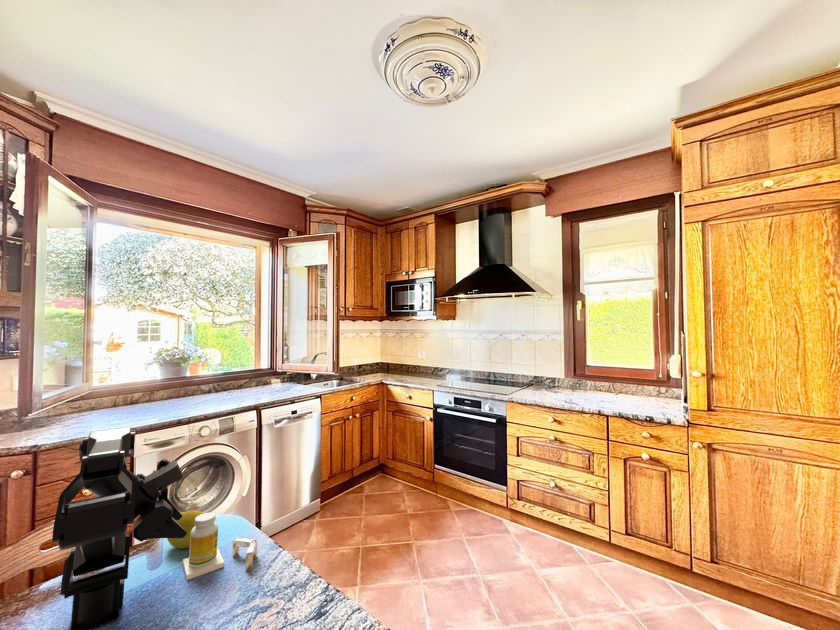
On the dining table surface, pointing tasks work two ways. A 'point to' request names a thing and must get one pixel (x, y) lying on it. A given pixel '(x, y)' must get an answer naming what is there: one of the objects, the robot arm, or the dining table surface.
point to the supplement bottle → (203, 540)
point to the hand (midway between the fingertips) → (182, 526)
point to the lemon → (188, 525)
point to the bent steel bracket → (250, 553)
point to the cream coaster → (195, 572)
